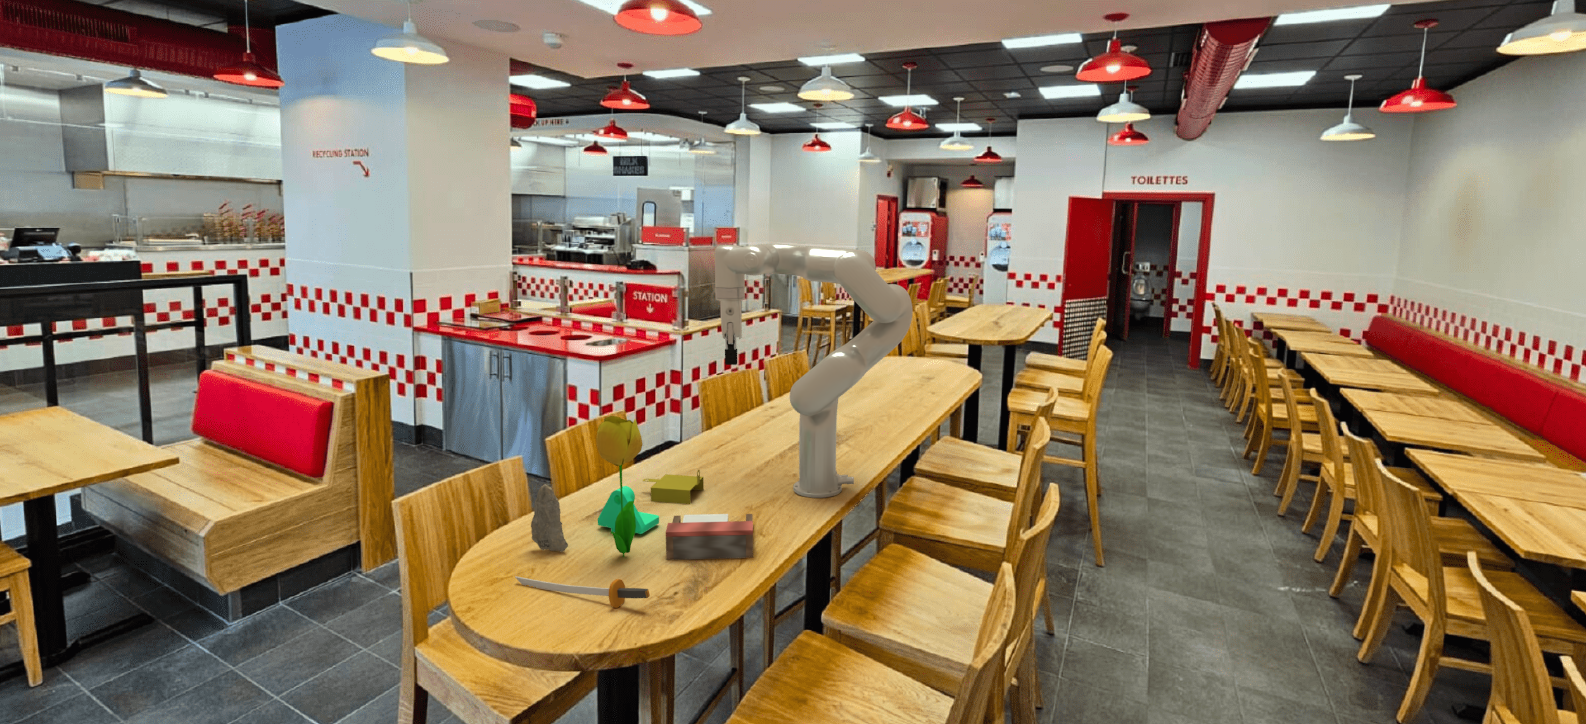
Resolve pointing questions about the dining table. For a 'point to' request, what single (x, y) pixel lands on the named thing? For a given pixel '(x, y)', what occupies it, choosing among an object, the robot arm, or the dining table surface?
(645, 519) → the camera mount
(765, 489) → the dining table surface
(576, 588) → the katana
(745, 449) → the dining table surface
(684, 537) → the bridge
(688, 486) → the bracket
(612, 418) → the flower
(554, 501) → the stone tool
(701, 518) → the panel
